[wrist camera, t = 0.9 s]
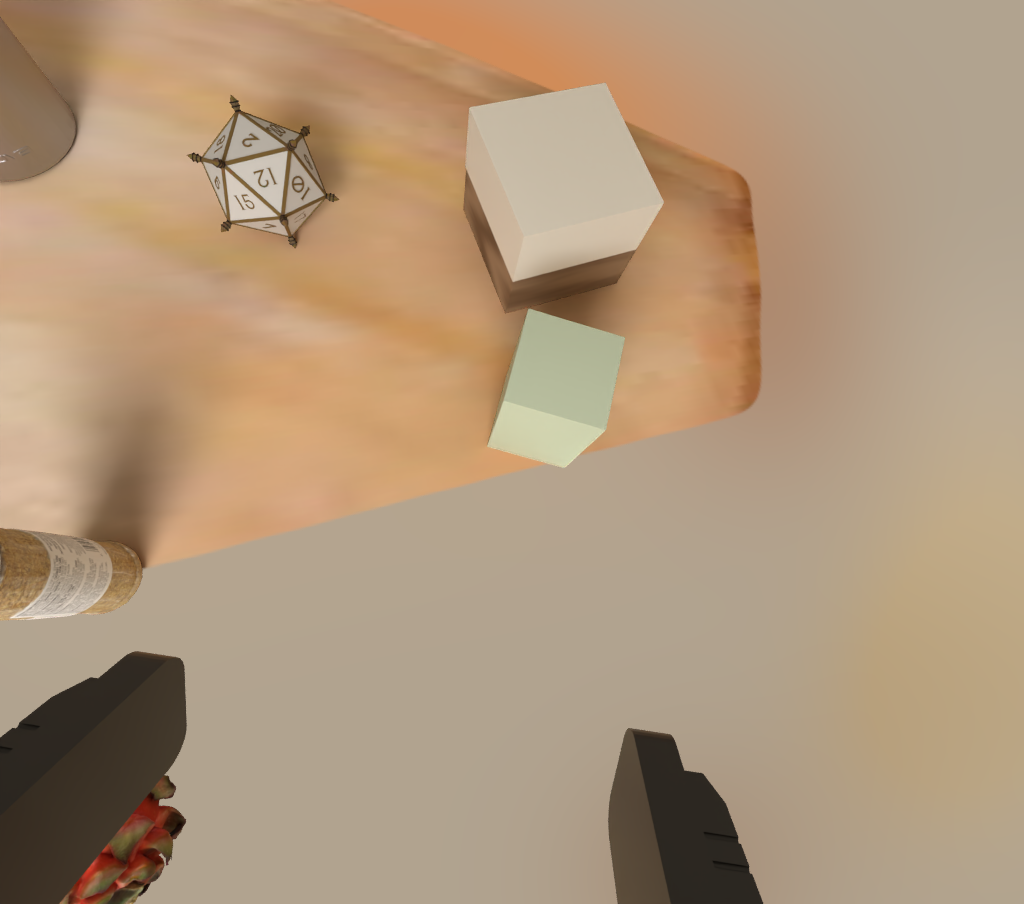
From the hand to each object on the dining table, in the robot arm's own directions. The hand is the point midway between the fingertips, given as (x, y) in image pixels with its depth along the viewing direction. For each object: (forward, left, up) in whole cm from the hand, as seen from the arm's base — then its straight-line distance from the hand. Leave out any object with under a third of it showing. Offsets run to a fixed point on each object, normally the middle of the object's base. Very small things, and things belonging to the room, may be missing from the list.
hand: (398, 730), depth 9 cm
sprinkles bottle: (-10, -18, -27) cm, 34 cm away
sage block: (-11, +12, -27) cm, 31 cm away
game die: (-33, -1, -27) cm, 43 cm away
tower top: (-25, +18, -22) cm, 38 cm away
